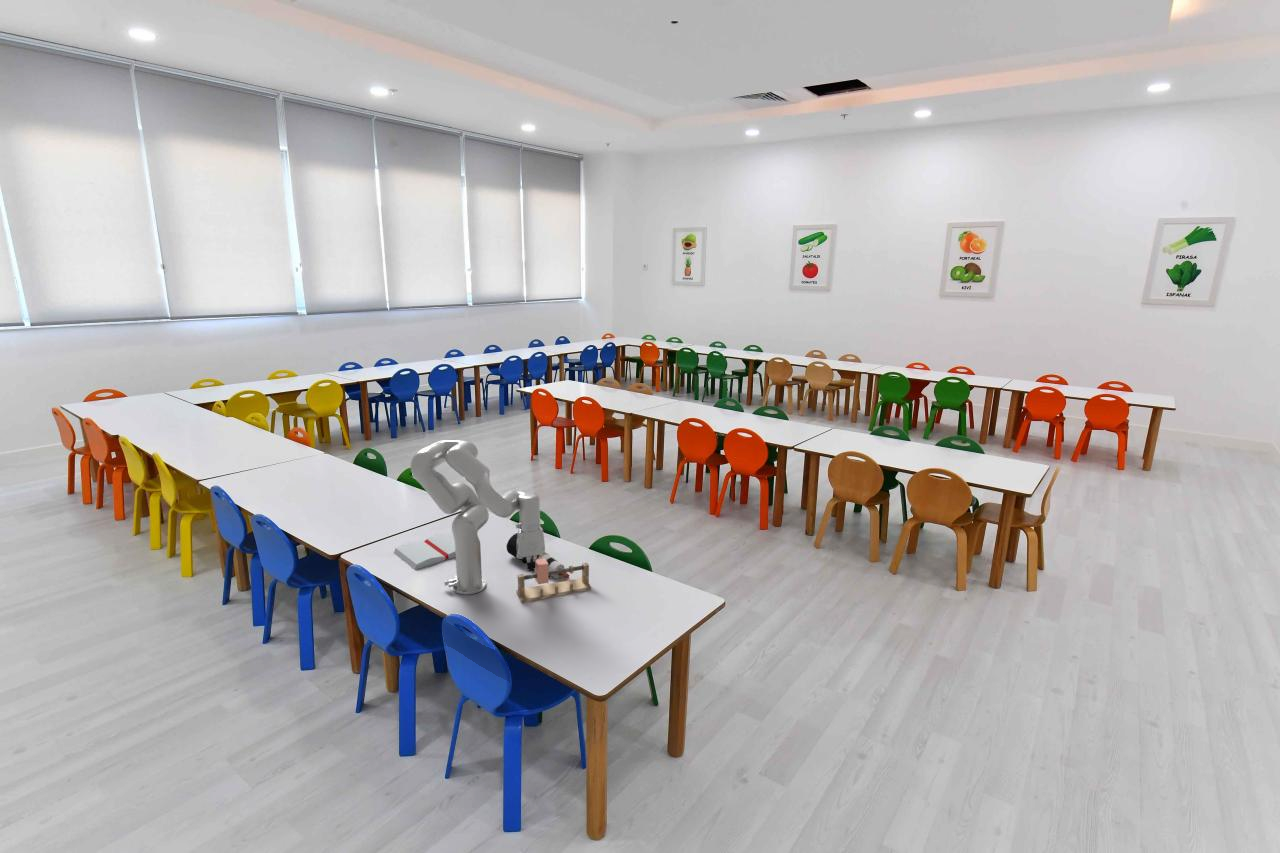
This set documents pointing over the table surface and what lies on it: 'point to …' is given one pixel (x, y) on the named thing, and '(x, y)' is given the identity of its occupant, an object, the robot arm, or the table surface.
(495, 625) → the table surface
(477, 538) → the robot arm
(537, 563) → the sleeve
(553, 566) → the black and grey cylinder
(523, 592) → the wooden test tube rack
